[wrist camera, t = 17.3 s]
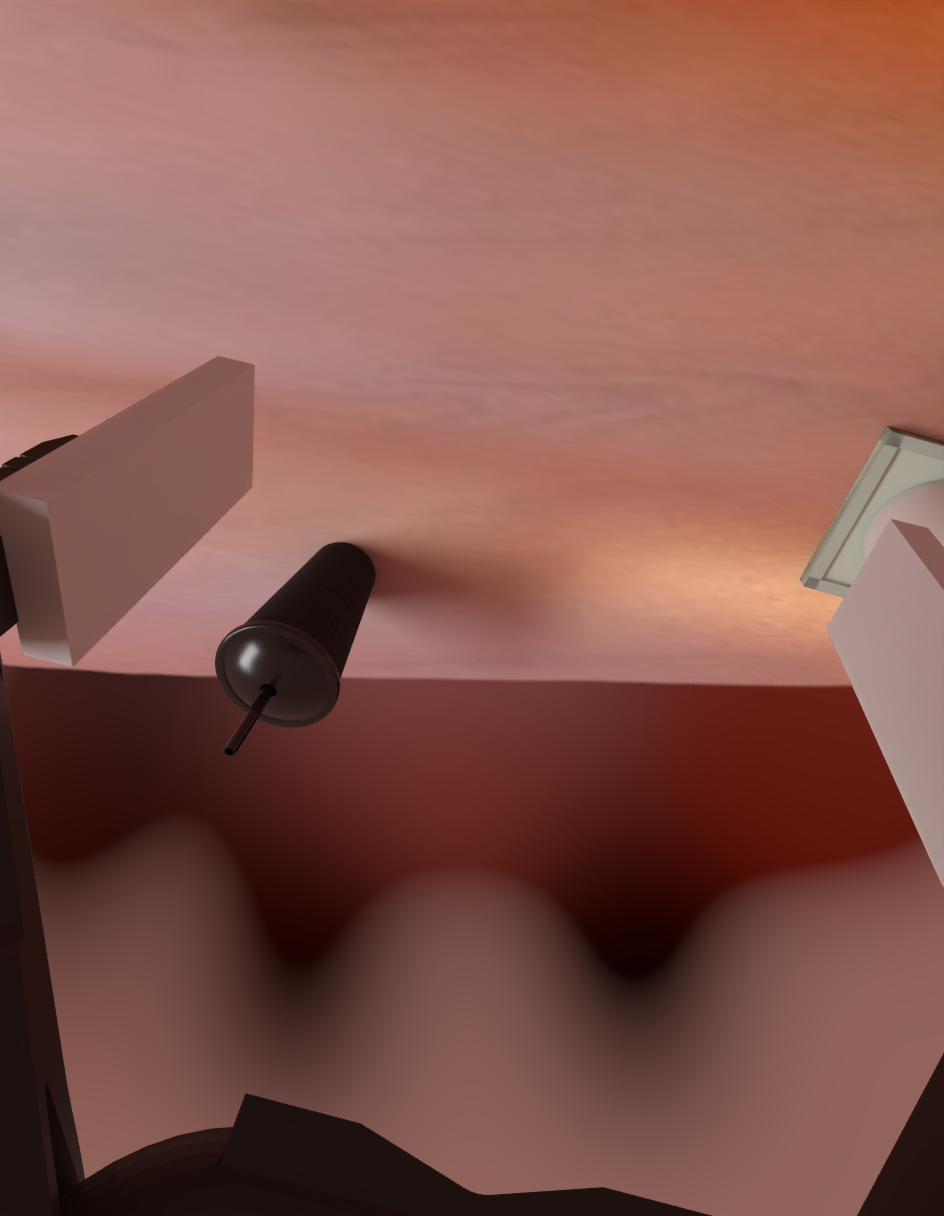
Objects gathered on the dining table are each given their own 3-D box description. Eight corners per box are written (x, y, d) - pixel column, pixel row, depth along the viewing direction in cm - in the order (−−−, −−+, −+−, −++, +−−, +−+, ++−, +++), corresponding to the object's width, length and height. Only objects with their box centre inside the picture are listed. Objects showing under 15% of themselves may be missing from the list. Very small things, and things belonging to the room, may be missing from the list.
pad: (886, 426, 43) (892, 431, 43) (1064, 476, 43) (1073, 483, 43) (800, 579, 49) (803, 586, 49) (955, 623, 49) (961, 631, 49)
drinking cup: (407, 550, 53) (316, 730, 36) (376, 628, 57) (281, 822, 40) (310, 507, 52) (170, 671, 36) (285, 589, 57) (150, 770, 40)
